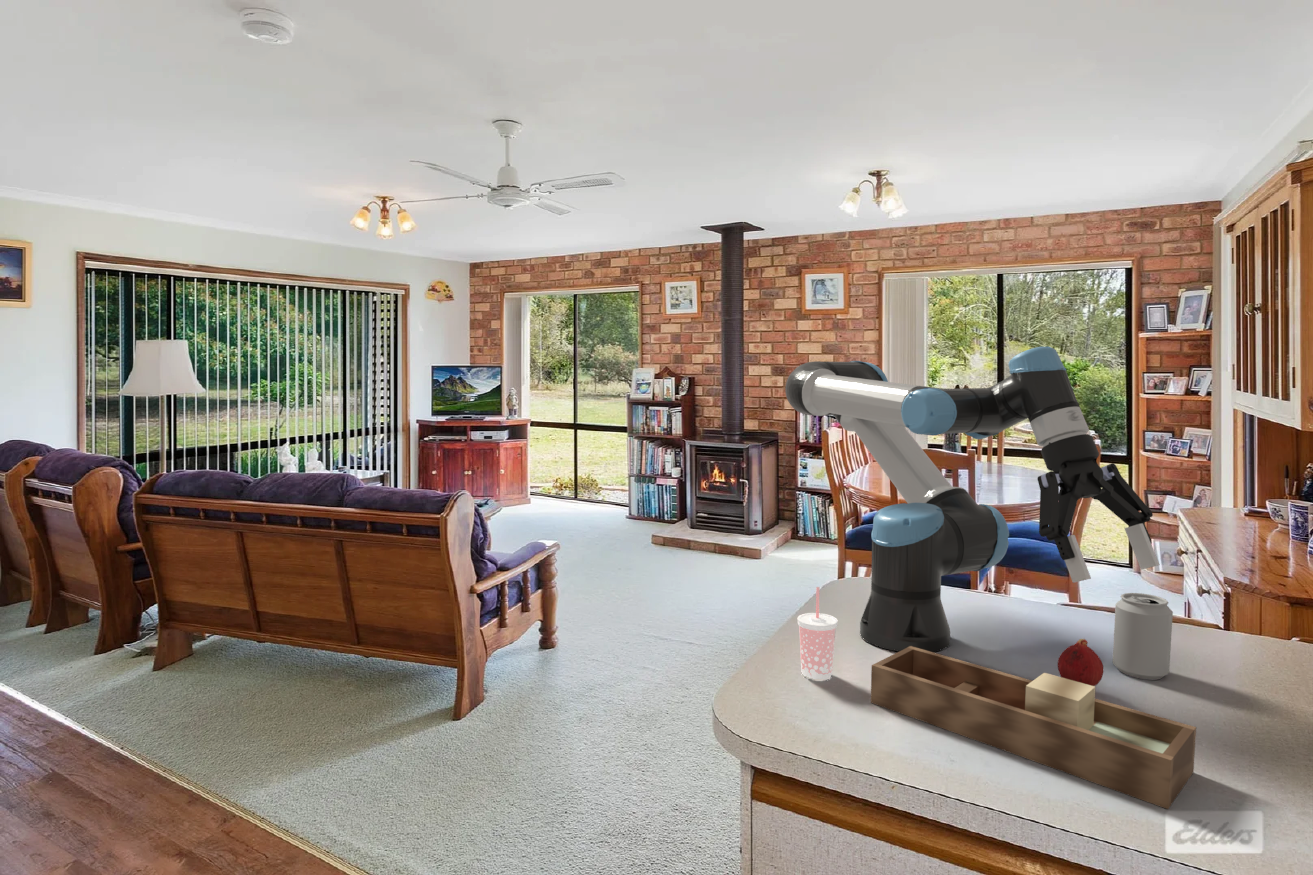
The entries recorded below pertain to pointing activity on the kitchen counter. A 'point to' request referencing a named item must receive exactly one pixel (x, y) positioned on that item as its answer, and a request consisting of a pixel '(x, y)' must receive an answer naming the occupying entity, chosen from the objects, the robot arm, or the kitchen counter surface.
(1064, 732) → the wooden compartment tray
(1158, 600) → the can
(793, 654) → the kitchen counter surface
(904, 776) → the kitchen counter surface
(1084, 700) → the maple block
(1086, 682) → the onion
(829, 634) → the beverage cup
